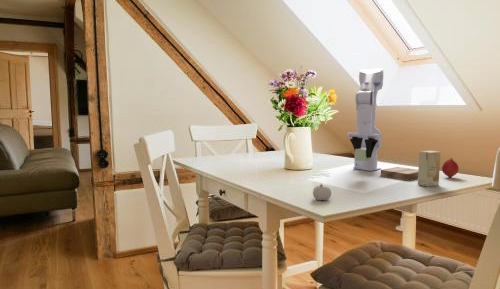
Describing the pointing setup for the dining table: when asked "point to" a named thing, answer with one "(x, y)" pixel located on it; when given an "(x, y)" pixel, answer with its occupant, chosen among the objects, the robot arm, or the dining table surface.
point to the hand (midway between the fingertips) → (363, 156)
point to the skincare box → (429, 168)
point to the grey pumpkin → (322, 192)
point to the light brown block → (400, 173)
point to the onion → (450, 168)
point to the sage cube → (361, 155)
